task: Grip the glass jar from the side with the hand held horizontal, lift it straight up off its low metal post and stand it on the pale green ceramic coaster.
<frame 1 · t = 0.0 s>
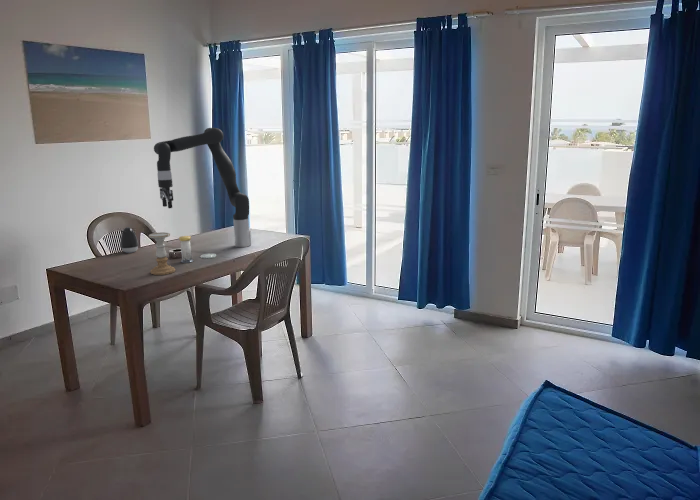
hand: (167, 207, 301), 29 cm above the table, tool pointing down, fingers open, 8 cm apart
coaster: (208, 256, 309), on the table
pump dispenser: (130, 252, 322), on the table
glass jar: (186, 257, 298), point 2 cm above the table, touching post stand
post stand: (186, 261, 298), on the table
candle holder: (163, 272, 278), on the table
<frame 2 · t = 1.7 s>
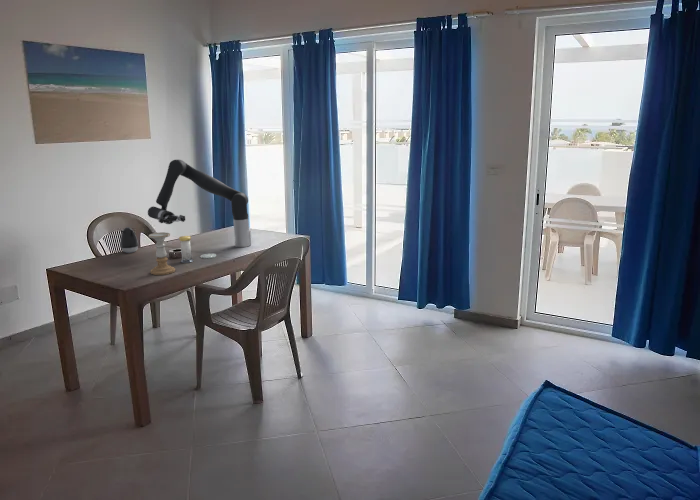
hand: (176, 220, 302), 22 cm above the table, tool horizontal, fingers open, 8 cm apart
nothing on the table moved.
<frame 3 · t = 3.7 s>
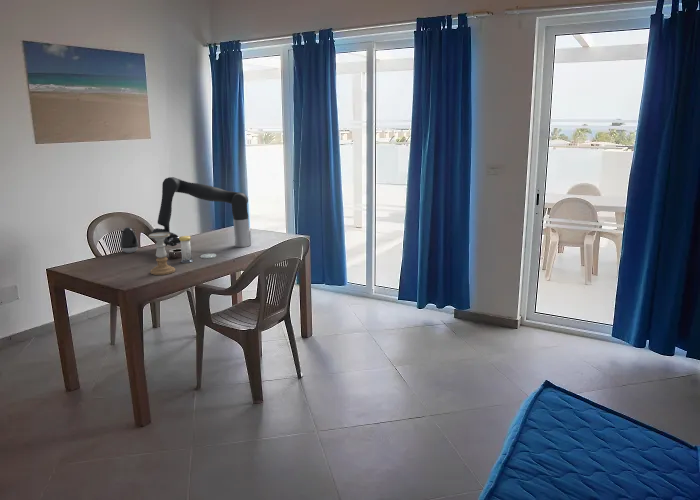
hand: (180, 243, 302), 9 cm above the table, tool horizontal, fingers open, 8 cm apart
nothing on the table moved.
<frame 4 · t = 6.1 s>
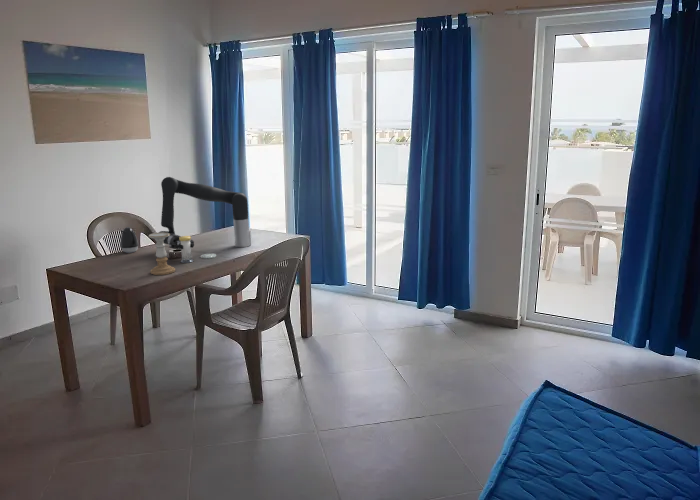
hand: (187, 246, 294), 9 cm above the table, tool horizontal, fingers closed on glass jar, 5 cm apart
glass jar: (186, 257, 298), point 2 cm above the table, touching gripper, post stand
everything else where it was.
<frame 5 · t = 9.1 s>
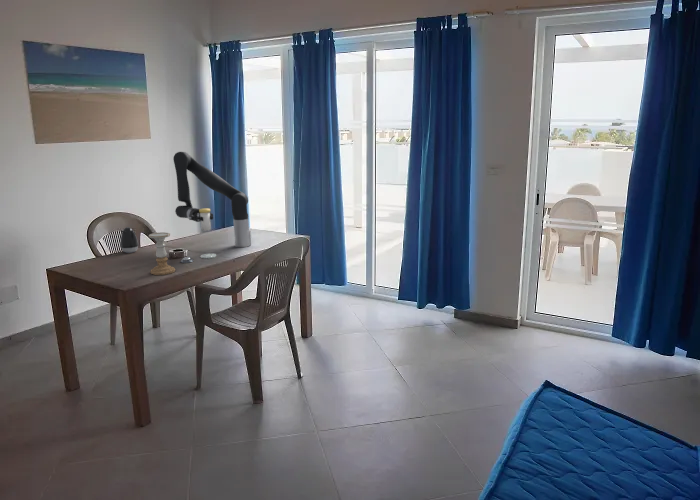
hand: (207, 218, 301), 23 cm above the table, tool horizontal, fingers closed on glass jar, 5 cm apart
glass jar: (206, 229, 305), point 16 cm above the table, touching gripper
everything else where it was.
when the fingers open (8 cm above the table, at t = 12.5 s): glass jar stays where it is, resting on coaster.
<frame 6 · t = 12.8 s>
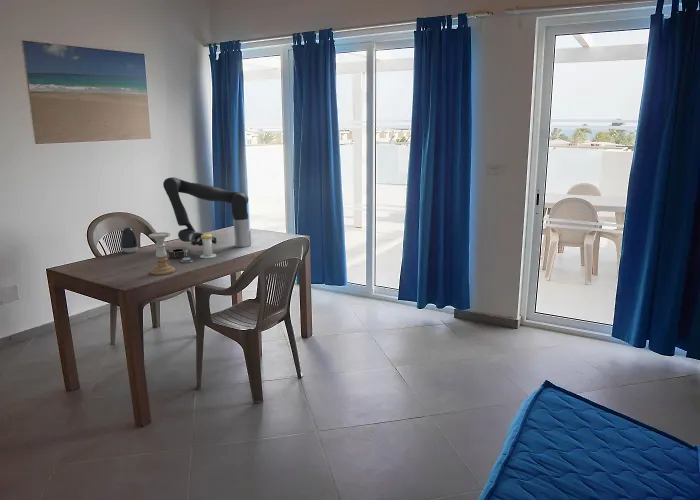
hand: (208, 243, 305), 8 cm above the table, tool horizontal, fingers open, 8 cm apart
glass jar: (208, 255, 309), point 1 cm above the table, touching coaster
everything else where it was.
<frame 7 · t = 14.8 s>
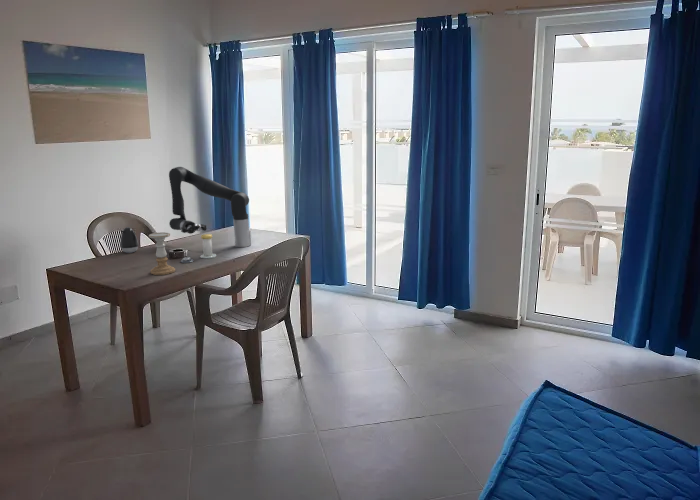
hand: (198, 230, 314), 14 cm above the table, tool horizontal, fingers open, 8 cm apart
nothing on the table moved.
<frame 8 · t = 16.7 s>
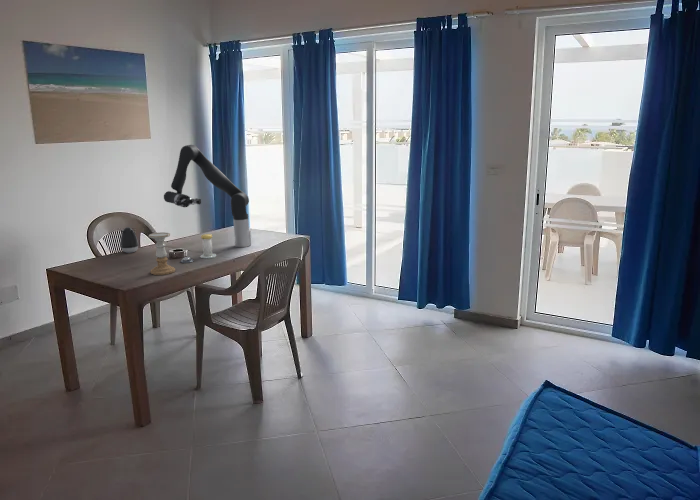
hand: (192, 203, 310), 30 cm above the table, tool horizontal, fingers open, 8 cm apart
nothing on the table moved.
at the end: glass jar inside the target area on the coaster (0.1 cm from its centre), point 0.6 cm above the coaster's base; glass jar tilted 0°; the gripper is holding nothing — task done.
